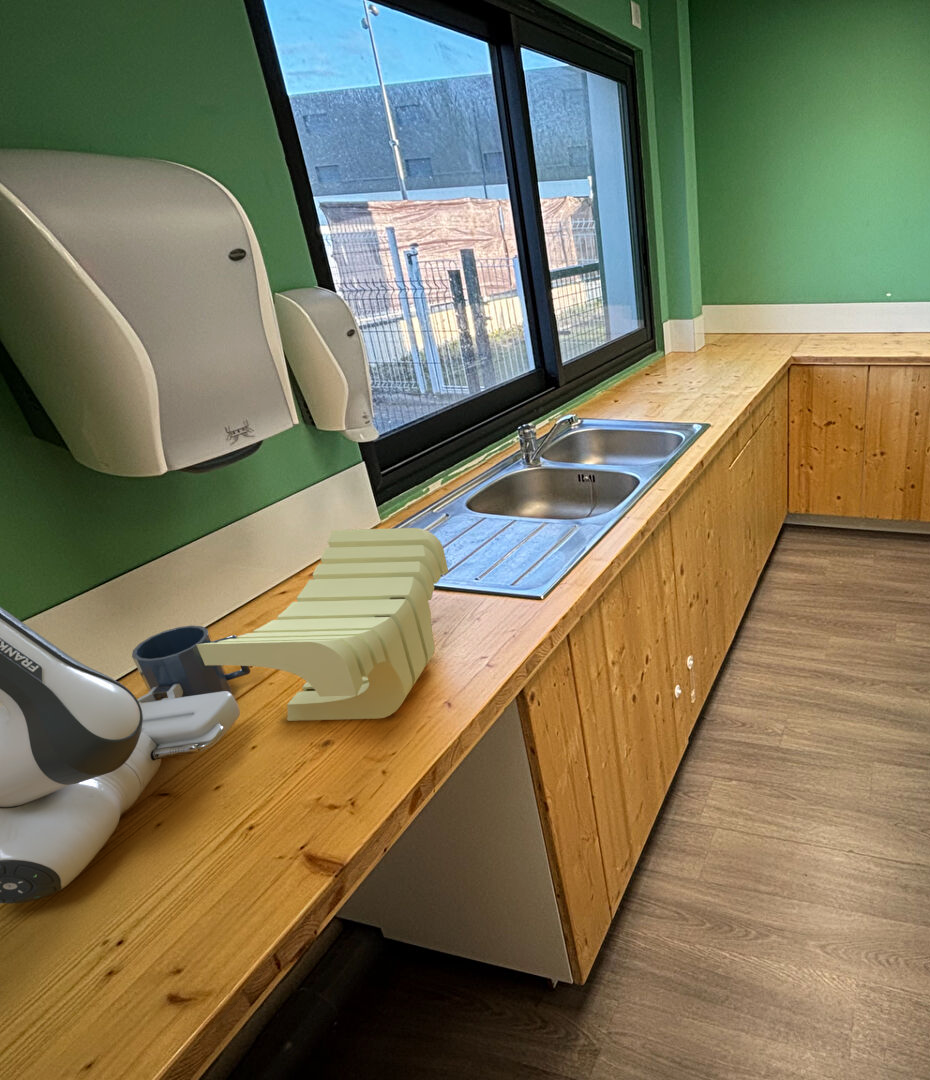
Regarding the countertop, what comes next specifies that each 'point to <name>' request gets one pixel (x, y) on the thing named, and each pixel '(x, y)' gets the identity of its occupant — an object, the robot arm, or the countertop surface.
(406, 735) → the countertop surface
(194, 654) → the mug
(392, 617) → the slatted lounge chair
